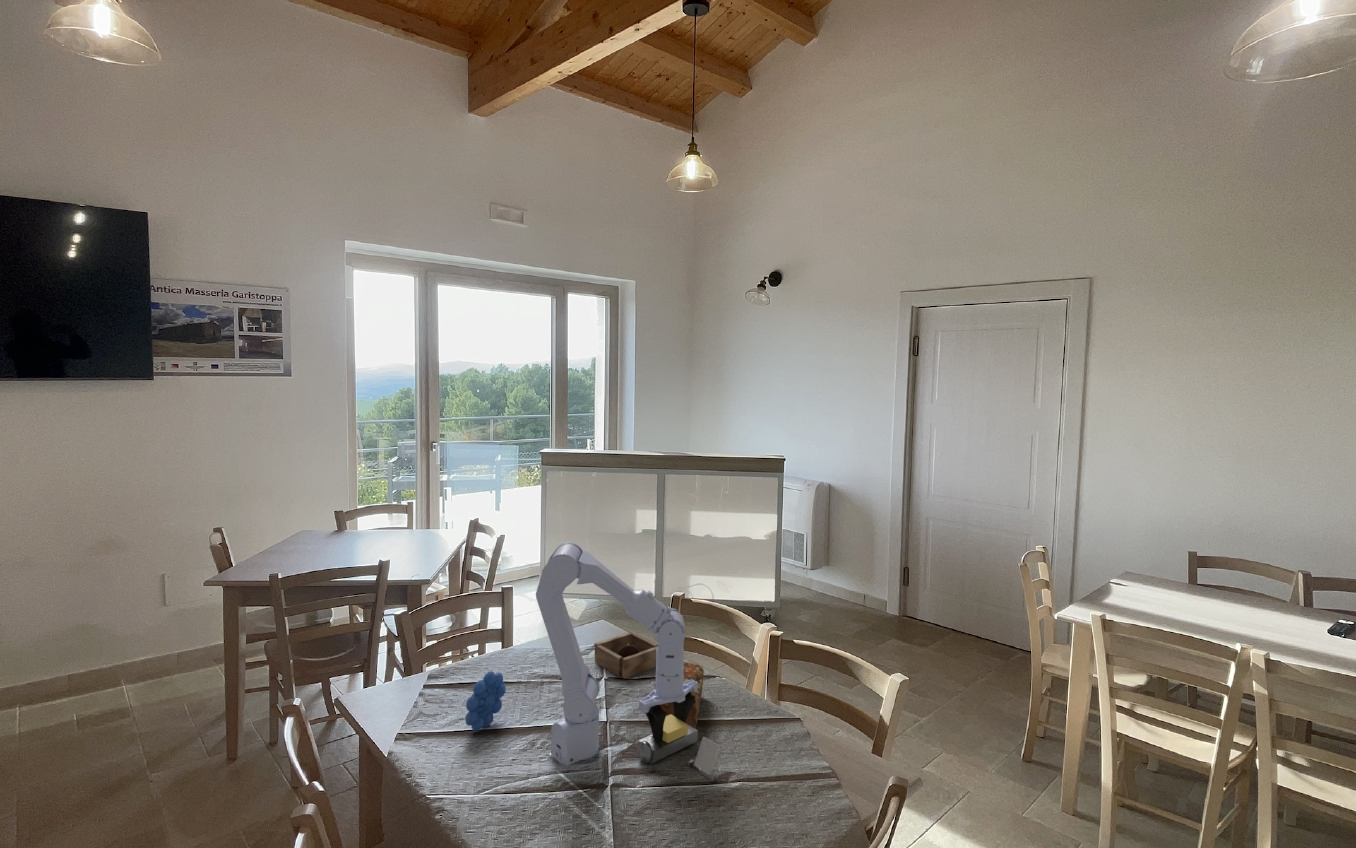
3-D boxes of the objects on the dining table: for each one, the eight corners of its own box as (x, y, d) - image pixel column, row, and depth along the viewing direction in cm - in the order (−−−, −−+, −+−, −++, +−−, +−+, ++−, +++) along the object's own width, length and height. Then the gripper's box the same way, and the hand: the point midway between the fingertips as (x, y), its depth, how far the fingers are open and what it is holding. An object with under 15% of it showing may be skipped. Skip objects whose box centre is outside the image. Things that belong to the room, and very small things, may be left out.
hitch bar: (688, 801, 128) (689, 774, 128) (635, 763, 140) (635, 738, 140) (735, 774, 137) (736, 749, 136) (681, 740, 149) (681, 717, 148)
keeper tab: (712, 781, 133) (709, 781, 133) (692, 768, 138) (689, 768, 137) (723, 747, 135) (720, 747, 134) (703, 735, 139) (700, 735, 138)
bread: (696, 737, 151) (697, 693, 150) (649, 732, 152) (649, 689, 151) (704, 696, 169) (705, 657, 168) (661, 692, 170) (662, 653, 169)
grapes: (490, 709, 160) (489, 660, 159) (512, 717, 157) (512, 666, 156) (452, 733, 150) (451, 680, 149) (475, 741, 147) (474, 687, 146)
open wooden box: (622, 679, 177) (623, 660, 176) (592, 661, 186) (592, 644, 186) (662, 664, 186) (662, 646, 185) (631, 648, 195) (631, 631, 195)
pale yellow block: (667, 759, 139) (667, 733, 138) (650, 748, 143) (651, 722, 142) (687, 750, 142) (687, 724, 142) (670, 739, 146) (670, 714, 146)
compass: (632, 658, 189) (633, 632, 189) (639, 670, 182) (639, 644, 181) (604, 661, 187) (604, 635, 186) (609, 674, 179) (610, 647, 179)
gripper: (655, 688, 133) (654, 755, 134) (708, 667, 143) (706, 729, 144) (632, 676, 138) (631, 740, 140) (685, 656, 148) (684, 716, 149)
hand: (668, 733), depth 142 cm, fingers closed on pale yellow block, 5 cm apart
